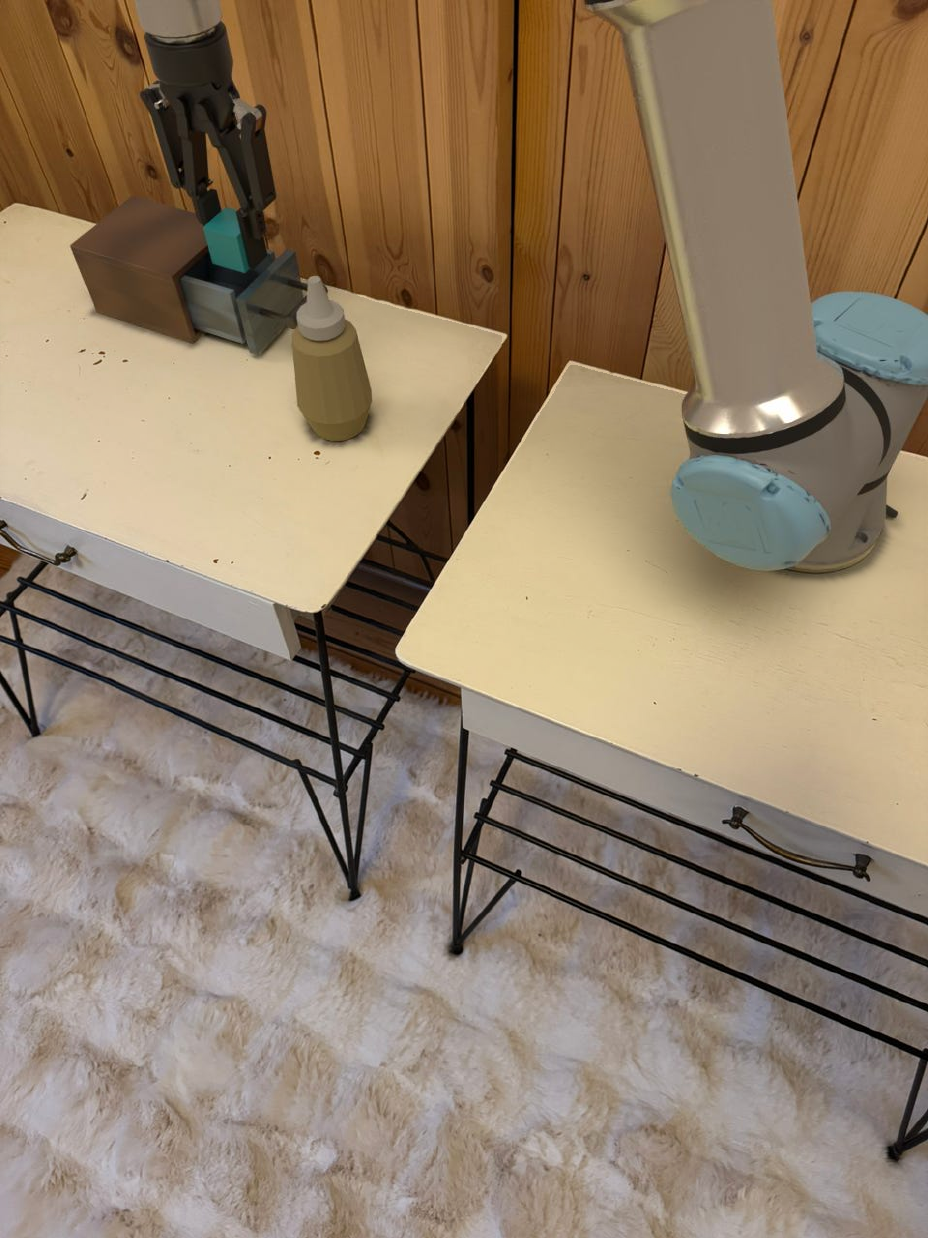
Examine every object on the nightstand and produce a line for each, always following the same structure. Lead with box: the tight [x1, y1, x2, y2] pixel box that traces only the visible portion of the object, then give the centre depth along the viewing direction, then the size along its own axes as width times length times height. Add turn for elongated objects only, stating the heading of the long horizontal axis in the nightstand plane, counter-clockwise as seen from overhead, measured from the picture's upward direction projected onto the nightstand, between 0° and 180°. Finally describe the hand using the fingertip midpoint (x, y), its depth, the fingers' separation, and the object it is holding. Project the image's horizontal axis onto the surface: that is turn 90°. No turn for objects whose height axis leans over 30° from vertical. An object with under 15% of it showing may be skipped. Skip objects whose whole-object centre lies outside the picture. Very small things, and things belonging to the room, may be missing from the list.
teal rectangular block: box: [203, 206, 250, 273], centre depth 101 cm, size 4×4×4 cm
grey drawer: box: [178, 248, 329, 356], centre depth 107 cm, size 18×10×7 cm, turn 64°
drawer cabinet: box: [69, 195, 209, 345], centre depth 110 cm, size 15×12×9 cm
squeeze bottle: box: [291, 275, 373, 442], centre depth 93 cm, size 8×8×18 cm
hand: (239, 255), depth 103 cm, fingers closed on teal rectangular block, 4 cm apart
